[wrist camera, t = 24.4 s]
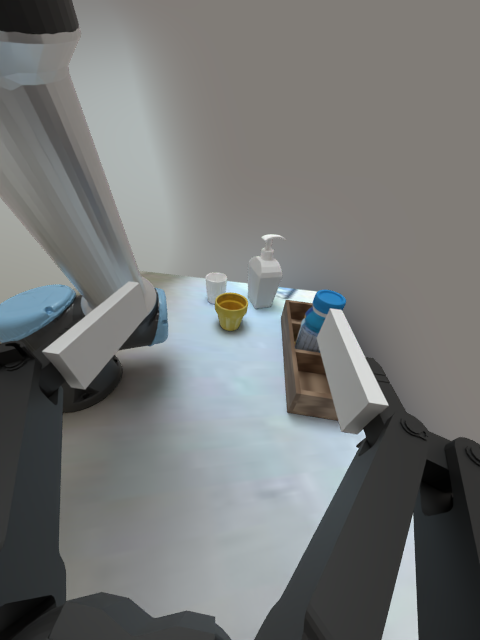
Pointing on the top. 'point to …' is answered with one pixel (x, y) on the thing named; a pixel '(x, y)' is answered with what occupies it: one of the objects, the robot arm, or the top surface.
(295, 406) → the wooden divided storage box
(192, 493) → the top surface
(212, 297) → the white cup
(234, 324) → the plant pot
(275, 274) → the soap bottle
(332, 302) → the beverage bottle
